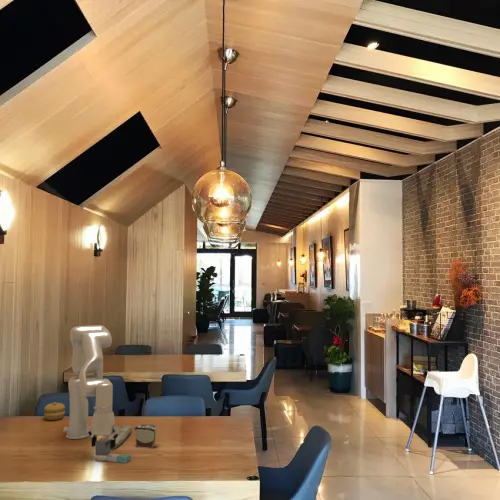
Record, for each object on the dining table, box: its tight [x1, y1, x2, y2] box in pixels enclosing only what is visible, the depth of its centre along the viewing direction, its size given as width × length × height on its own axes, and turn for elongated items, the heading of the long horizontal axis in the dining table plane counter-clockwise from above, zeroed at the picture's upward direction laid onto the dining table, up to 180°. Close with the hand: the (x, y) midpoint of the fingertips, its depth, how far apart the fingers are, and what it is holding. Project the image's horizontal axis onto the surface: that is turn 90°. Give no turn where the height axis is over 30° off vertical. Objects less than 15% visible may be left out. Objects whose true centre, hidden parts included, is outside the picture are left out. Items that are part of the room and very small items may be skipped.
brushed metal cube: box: [94, 437, 112, 456], centre depth 235 cm, size 5×5×6 cm
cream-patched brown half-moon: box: [133, 423, 158, 450], centre depth 254 cm, size 12×6×10 cm, turn 71°
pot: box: [43, 401, 66, 421], centre depth 303 cm, size 12×12×10 cm
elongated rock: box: [106, 424, 133, 451], centre depth 263 cm, size 35×5×10 cm
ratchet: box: [94, 452, 132, 464], centre depth 233 cm, size 16×7×7 cm, turn 75°
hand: (103, 447), depth 234 cm, fingers open, 9 cm apart
